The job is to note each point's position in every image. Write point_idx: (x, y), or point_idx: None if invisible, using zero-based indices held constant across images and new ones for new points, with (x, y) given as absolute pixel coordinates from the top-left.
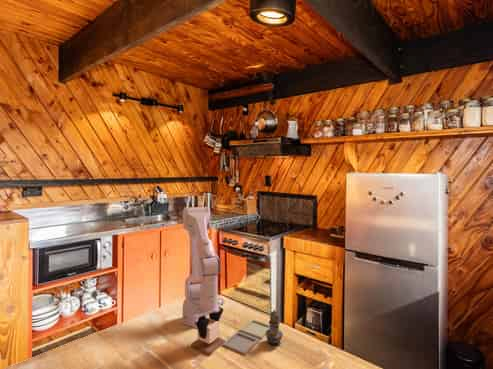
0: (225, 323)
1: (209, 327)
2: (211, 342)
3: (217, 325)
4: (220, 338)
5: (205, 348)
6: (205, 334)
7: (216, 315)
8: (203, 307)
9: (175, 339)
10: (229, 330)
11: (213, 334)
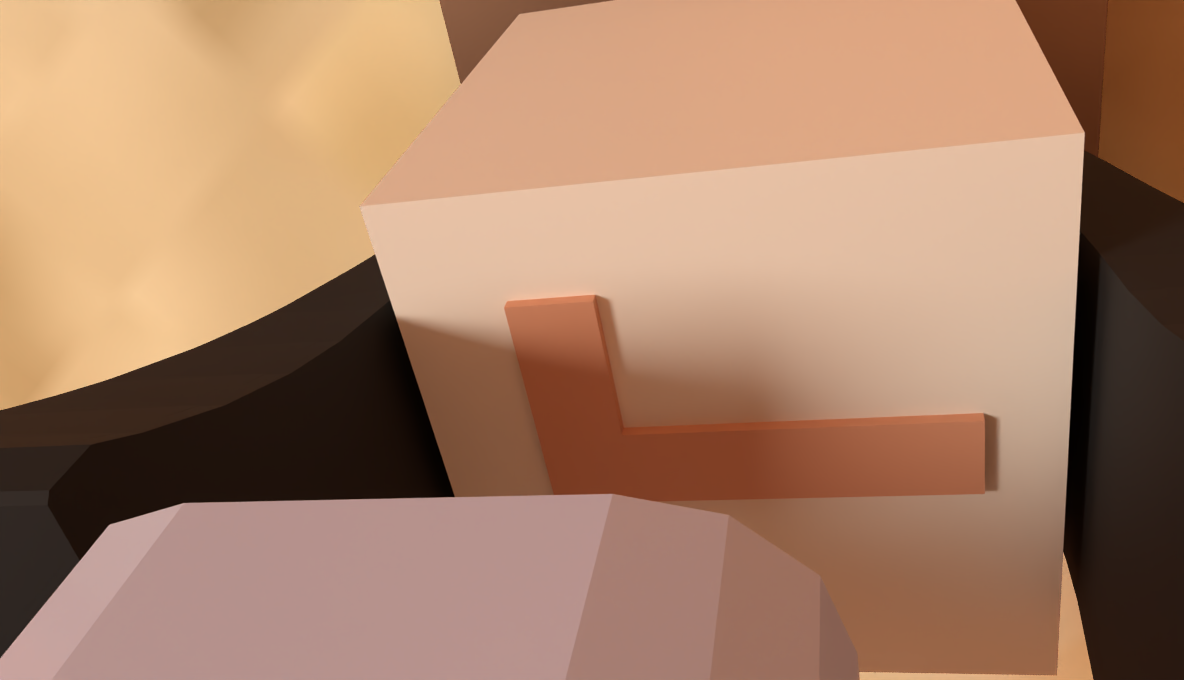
0: (26, 364)
1: (997, 217)
2: None
3: (502, 152)
4: (449, 28)
5: (1029, 4)
6: (1101, 176)
7: (296, 499)
8: None
9: (1034, 676)
10: (72, 148)
11: (784, 34)
